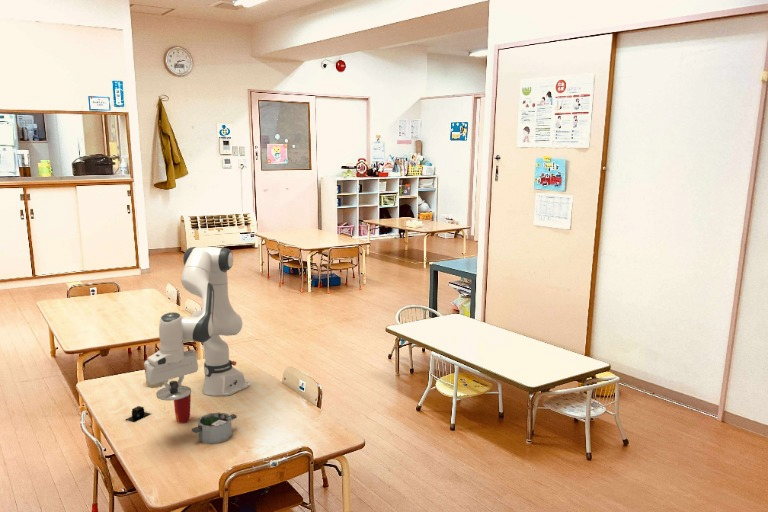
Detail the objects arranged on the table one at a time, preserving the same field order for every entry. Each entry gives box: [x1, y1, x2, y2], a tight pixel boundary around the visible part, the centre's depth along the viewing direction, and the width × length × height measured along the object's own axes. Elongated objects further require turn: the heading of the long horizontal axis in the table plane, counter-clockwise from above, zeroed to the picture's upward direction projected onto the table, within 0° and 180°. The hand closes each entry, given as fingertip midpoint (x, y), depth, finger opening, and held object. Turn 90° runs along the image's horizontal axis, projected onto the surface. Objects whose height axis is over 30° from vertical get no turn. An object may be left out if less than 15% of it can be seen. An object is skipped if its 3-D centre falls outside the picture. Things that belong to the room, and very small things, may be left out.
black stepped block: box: [125, 405, 152, 423], centre depth 254 cm, size 12×7×5 cm, turn 154°
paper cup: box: [173, 386, 192, 424], centre depth 251 cm, size 8×8×14 cm
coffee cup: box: [143, 359, 164, 389], centre depth 288 cm, size 9×9×12 cm
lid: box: [155, 380, 192, 402], centre depth 233 cm, size 13×13×5 cm
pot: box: [191, 412, 238, 445], centre depth 238 cm, size 19×13×7 cm
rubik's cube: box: [211, 420, 227, 426], centre depth 240 cm, size 5×5×5 cm
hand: (173, 388), depth 233 cm, fingers closed on lid, 3 cm apart
